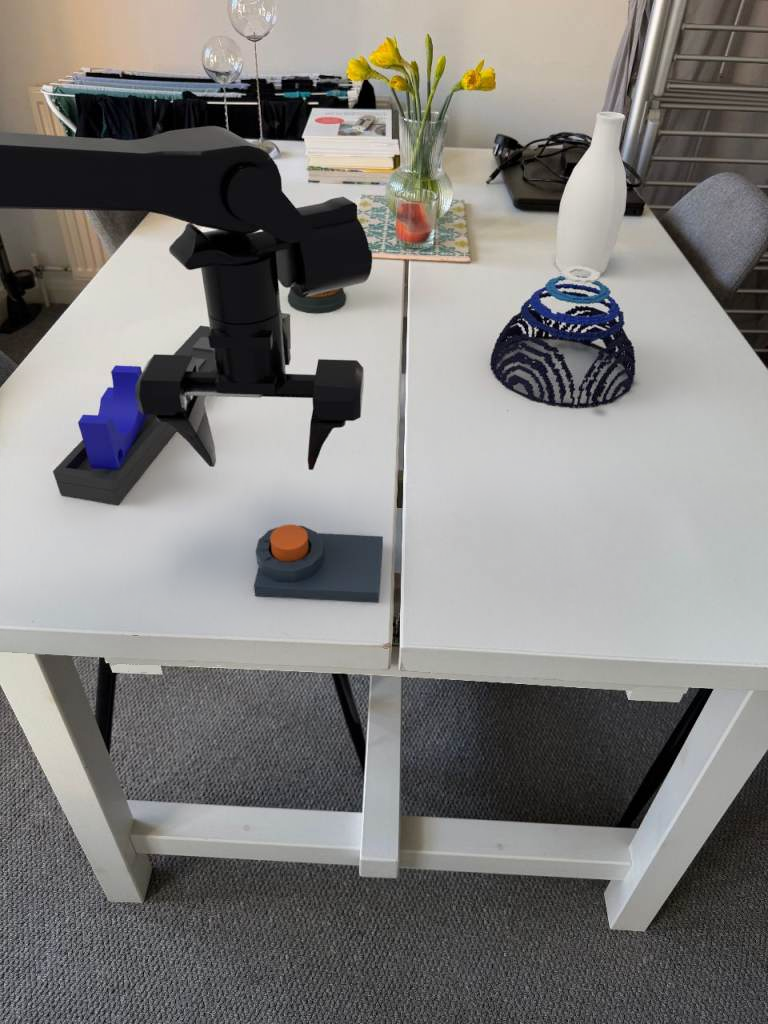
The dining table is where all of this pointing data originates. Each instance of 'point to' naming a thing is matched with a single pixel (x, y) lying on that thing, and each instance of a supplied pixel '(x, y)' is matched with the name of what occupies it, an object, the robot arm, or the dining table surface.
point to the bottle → (593, 201)
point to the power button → (289, 543)
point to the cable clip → (113, 421)
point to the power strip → (148, 443)
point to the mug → (318, 301)
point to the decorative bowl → (586, 338)
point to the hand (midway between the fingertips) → (262, 465)
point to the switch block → (323, 569)
